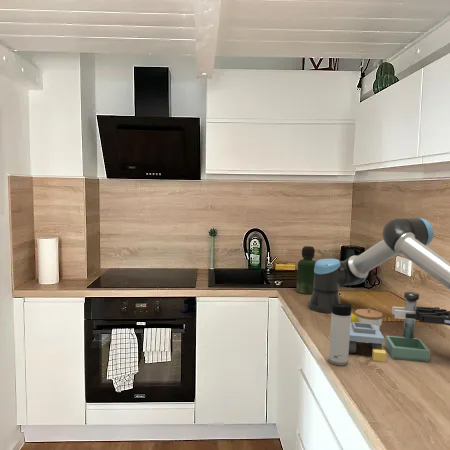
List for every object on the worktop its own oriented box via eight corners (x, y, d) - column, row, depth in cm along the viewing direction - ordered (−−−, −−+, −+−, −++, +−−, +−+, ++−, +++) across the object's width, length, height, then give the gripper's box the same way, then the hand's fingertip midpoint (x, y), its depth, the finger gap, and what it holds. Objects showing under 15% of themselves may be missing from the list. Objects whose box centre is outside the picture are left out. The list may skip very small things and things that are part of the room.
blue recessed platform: (342, 340, 162) (344, 318, 162) (375, 343, 161) (377, 321, 160) (346, 354, 149) (348, 330, 148) (382, 358, 147) (384, 334, 146)
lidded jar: (386, 335, 169) (388, 312, 168) (361, 336, 167) (363, 313, 166) (373, 326, 180) (374, 304, 179) (349, 327, 178) (350, 305, 177)
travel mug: (337, 367, 138) (341, 307, 136) (324, 359, 144) (328, 301, 142) (352, 364, 140) (356, 305, 138) (339, 357, 146) (343, 300, 144)
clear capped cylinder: (399, 333, 153) (402, 291, 152) (413, 335, 152) (417, 292, 151) (402, 338, 148) (406, 294, 147) (417, 339, 148) (421, 295, 146)
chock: (371, 357, 147) (372, 348, 147) (384, 358, 146) (384, 350, 146) (373, 360, 144) (374, 352, 144) (385, 362, 143) (386, 353, 143)
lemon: (346, 328, 175) (347, 309, 175) (359, 332, 172) (360, 312, 171) (340, 332, 171) (341, 312, 170) (353, 335, 168) (354, 315, 167)
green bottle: (303, 295, 226) (306, 248, 224) (292, 290, 236) (295, 245, 233) (319, 293, 230) (322, 248, 228) (308, 289, 240) (310, 245, 237)
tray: (384, 345, 158) (385, 335, 158) (419, 349, 156) (419, 338, 156) (392, 358, 146) (392, 347, 146) (429, 362, 144) (430, 351, 144)
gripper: (474, 336, 139) (398, 330, 143) (455, 320, 155) (387, 315, 159) (476, 314, 138) (400, 308, 142) (457, 300, 154) (389, 295, 158)
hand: (393, 312), depth 150 cm, fingers closed on clear capped cylinder, 3 cm apart
